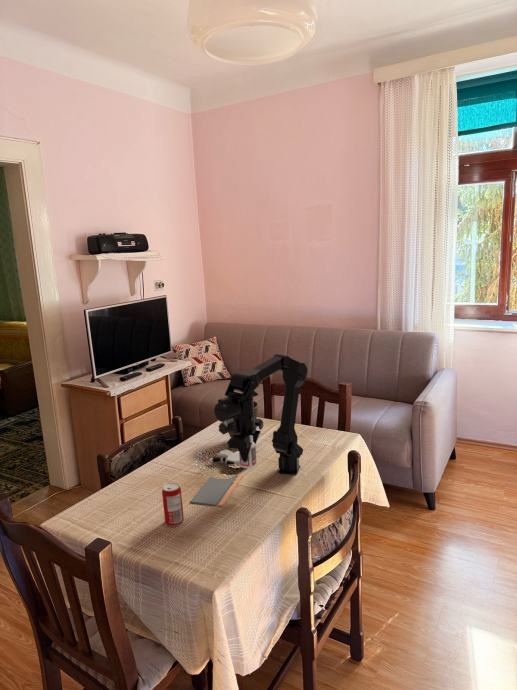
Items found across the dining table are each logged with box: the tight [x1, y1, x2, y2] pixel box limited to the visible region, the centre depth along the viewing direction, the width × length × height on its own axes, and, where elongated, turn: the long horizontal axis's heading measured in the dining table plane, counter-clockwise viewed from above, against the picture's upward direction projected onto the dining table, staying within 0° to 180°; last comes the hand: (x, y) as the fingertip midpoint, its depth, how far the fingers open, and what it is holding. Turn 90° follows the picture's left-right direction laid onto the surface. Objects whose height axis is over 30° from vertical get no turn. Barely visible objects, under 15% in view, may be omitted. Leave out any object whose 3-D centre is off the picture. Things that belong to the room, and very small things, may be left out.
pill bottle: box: [239, 435, 257, 469], centre depth 158 cm, size 5×5×10 cm
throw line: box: [218, 474, 244, 508], centre depth 163 cm, size 1×20×1 cm, turn 163°
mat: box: [189, 474, 238, 507], centre depth 165 cm, size 9×20×1 cm, turn 163°
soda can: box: [161, 481, 185, 527], centre depth 145 cm, size 6×6×12 cm
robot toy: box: [208, 448, 258, 469], centre depth 182 cm, size 12×4×15 cm
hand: (247, 457), depth 158 cm, fingers closed on pill bottle, 5 cm apart
